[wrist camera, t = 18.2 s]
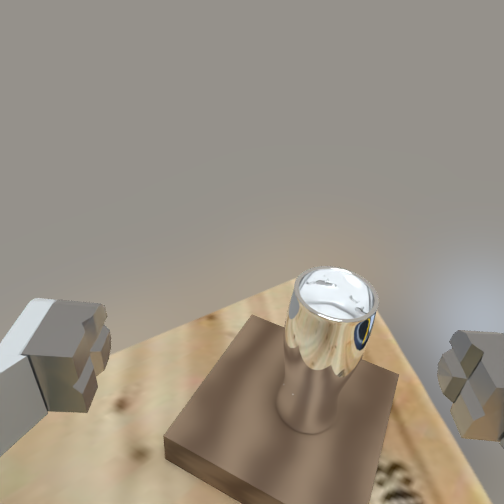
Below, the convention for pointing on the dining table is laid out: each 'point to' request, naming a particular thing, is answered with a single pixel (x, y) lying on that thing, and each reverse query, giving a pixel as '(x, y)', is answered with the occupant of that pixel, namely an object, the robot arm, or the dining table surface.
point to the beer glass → (323, 344)
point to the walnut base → (279, 429)
